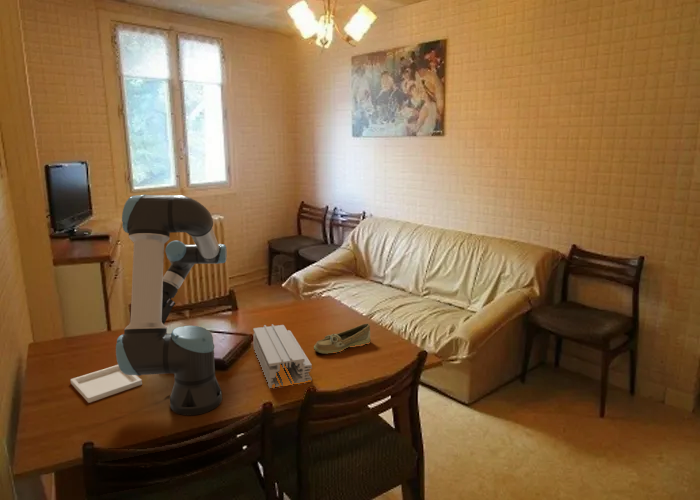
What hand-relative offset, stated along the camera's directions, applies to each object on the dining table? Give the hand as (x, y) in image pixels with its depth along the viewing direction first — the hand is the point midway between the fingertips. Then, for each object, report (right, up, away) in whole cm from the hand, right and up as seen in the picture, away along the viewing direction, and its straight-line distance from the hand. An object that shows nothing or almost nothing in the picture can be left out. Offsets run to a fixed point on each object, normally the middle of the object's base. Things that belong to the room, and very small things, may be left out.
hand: (137, 337), depth 180 cm
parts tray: (+1, -11, -25) cm, 28 cm away
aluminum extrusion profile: (+55, -9, -8) cm, 56 cm away
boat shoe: (+76, -5, +8) cm, 77 cm away
